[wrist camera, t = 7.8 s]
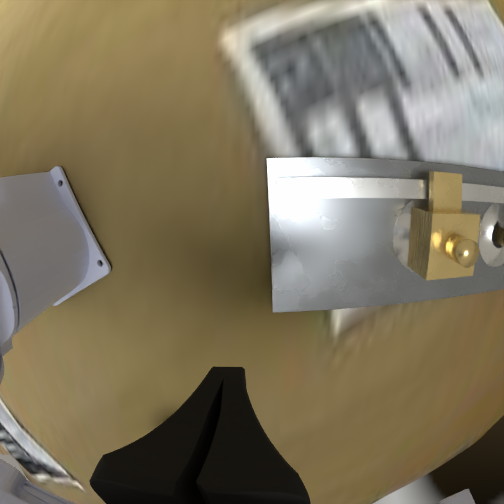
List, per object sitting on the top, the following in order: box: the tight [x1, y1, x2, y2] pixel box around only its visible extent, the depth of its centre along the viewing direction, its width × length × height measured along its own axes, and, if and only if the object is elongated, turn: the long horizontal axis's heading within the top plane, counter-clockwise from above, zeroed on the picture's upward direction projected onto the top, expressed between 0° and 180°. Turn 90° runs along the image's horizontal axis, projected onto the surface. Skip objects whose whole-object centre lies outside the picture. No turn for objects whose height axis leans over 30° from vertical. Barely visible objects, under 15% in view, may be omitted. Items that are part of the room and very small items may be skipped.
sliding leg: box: [407, 171, 480, 280], centre depth 15 cm, size 4×6×4 cm, turn 3°
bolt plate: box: [267, 157, 504, 312], centre depth 16 cm, size 22×10×7 cm, turn 93°
